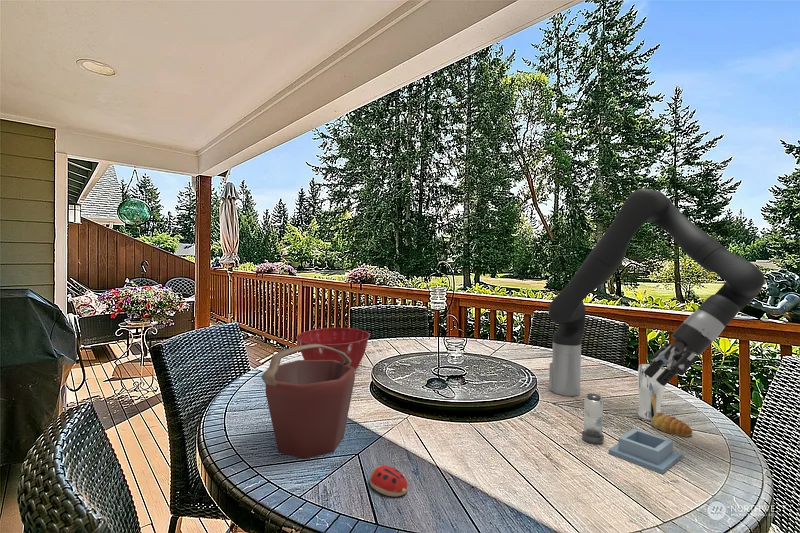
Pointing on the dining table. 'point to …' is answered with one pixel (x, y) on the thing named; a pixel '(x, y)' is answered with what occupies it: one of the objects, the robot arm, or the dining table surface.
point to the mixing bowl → (335, 344)
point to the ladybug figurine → (388, 481)
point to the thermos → (593, 419)
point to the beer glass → (649, 393)
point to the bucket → (308, 402)
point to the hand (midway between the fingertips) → (653, 379)
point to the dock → (646, 450)
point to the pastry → (670, 425)
